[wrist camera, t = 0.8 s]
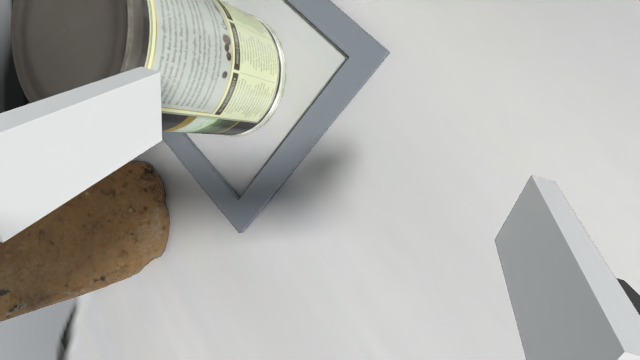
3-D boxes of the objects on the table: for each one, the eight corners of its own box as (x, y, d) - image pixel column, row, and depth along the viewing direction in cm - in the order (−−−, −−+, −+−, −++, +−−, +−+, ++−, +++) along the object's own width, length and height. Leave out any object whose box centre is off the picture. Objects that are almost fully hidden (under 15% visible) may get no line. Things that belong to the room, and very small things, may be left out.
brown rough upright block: (171, 271, 37) (-138, 383, 19) (120, 254, 41) (-184, 336, 23) (176, 162, 36) (-150, 174, 18) (123, 154, 39) (-198, 156, 21)
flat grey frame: (228, -88, 31) (224, -92, 31) (390, 52, 26) (388, 50, 26) (129, 92, 38) (125, 92, 38) (242, 232, 33) (239, 233, 33)
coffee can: (226, 160, 33) (55, 166, 21) (174, 69, 35) (-11, 24, 23) (310, 85, 29) (161, 35, 17) (246, -14, 31) (70, -126, 19)
